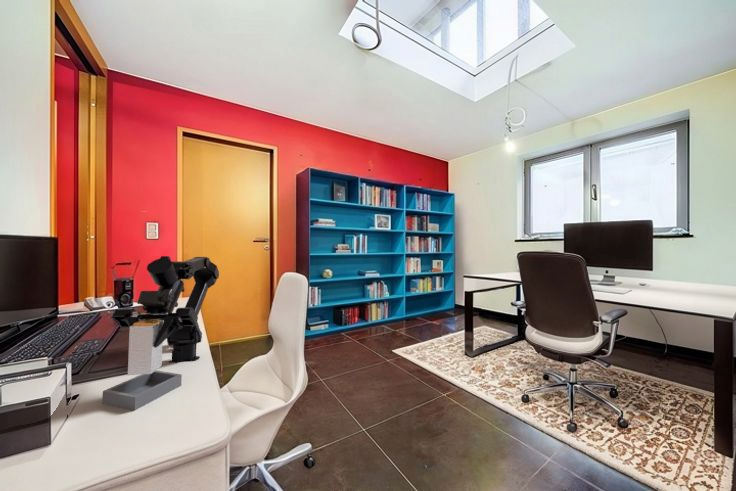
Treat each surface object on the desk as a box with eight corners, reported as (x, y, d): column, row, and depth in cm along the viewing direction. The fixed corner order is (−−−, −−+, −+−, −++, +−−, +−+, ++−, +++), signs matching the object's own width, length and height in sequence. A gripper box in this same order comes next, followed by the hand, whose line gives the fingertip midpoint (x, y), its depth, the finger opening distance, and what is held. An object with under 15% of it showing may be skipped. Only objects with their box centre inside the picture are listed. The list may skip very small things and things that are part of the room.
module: (140, 366, 72) (142, 318, 72) (161, 365, 73) (163, 318, 73) (127, 375, 67) (129, 324, 67) (150, 374, 68) (152, 323, 68)
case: (152, 383, 77) (152, 369, 77) (181, 389, 75) (181, 374, 75) (102, 407, 65) (102, 391, 65) (134, 414, 63) (135, 397, 63)
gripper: (117, 278, 72) (81, 332, 61) (195, 278, 76) (174, 330, 65) (135, 302, 80) (105, 354, 69) (205, 301, 84) (187, 350, 73)
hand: (143, 347), depth 69 cm, fingers closed on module, 5 cm apart
